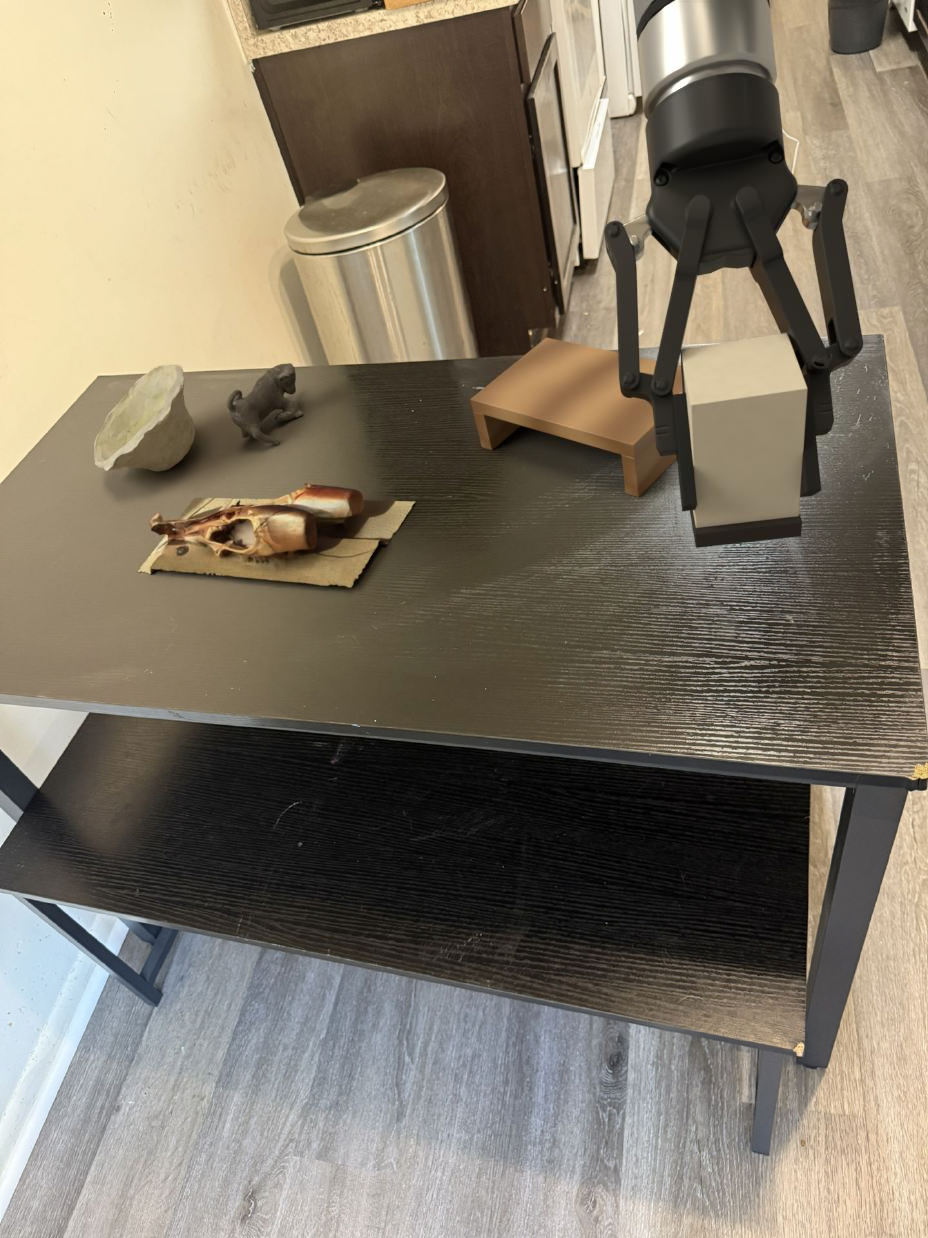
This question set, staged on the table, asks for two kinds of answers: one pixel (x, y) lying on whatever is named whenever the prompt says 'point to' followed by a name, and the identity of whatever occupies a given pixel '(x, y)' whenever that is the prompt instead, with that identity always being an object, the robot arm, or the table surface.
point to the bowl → (147, 424)
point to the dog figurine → (265, 402)
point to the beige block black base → (745, 439)
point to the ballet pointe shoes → (278, 536)
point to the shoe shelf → (575, 406)
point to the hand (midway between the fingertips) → (748, 500)
